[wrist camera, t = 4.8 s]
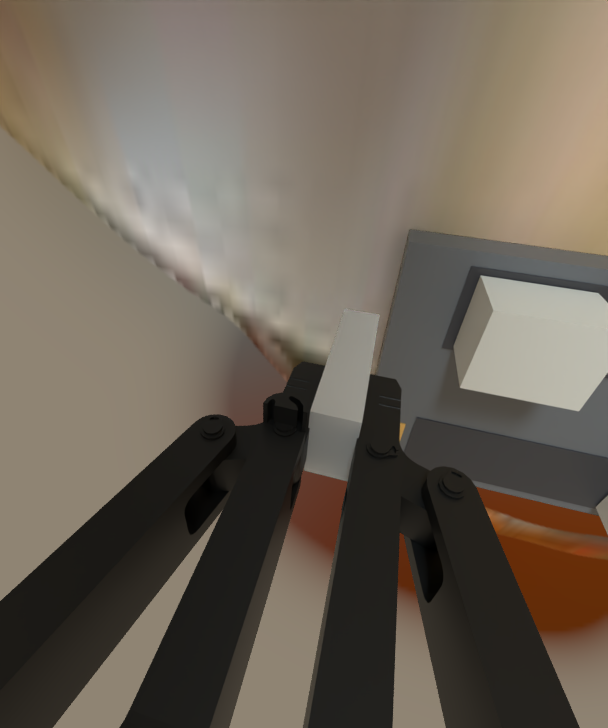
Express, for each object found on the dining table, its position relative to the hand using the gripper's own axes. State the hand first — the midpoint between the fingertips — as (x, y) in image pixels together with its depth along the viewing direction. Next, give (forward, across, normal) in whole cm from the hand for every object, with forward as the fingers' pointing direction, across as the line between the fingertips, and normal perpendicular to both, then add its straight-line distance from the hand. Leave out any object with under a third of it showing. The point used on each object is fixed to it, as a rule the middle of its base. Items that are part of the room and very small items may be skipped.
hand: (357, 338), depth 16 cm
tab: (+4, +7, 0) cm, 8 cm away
